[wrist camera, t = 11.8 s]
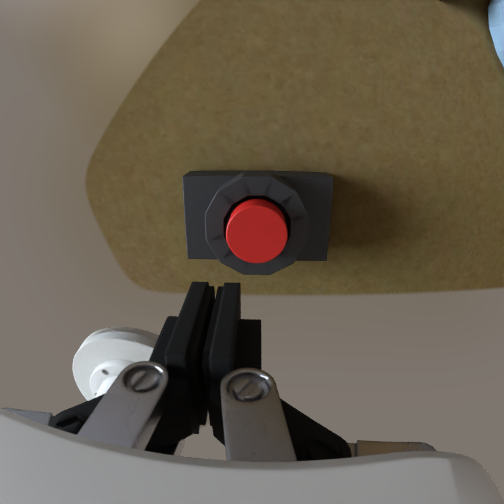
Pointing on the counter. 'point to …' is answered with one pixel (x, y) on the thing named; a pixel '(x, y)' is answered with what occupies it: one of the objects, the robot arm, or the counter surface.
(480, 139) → the counter surface
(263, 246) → the button
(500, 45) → the basin
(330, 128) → the counter surface
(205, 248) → the button box
